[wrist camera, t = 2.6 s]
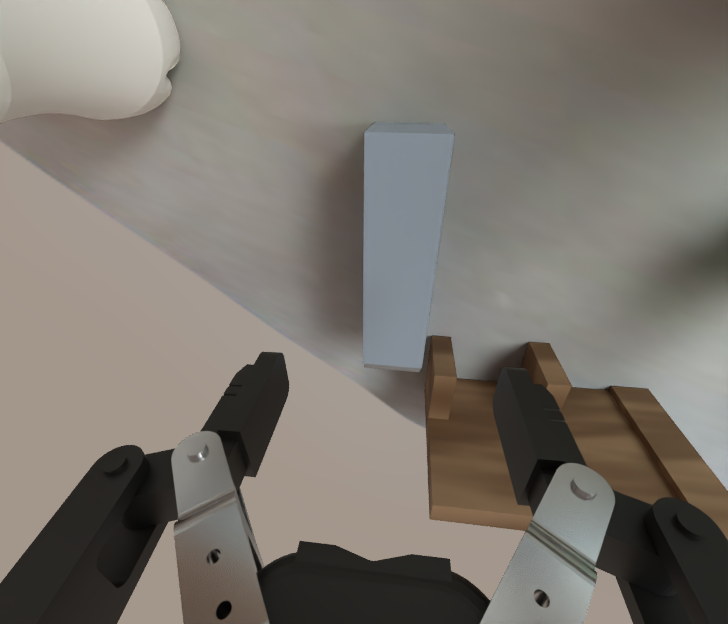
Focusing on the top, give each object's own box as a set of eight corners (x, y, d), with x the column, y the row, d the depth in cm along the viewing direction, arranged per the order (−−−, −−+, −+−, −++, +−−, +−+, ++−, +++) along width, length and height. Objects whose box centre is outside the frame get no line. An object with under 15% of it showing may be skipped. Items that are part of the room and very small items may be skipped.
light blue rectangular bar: (374, 122, 19) (364, 132, 15) (445, 123, 19) (454, 134, 15) (370, 325, 27) (362, 368, 23) (419, 329, 27) (421, 373, 23)
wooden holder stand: (431, 335, 27) (444, 500, 16) (672, 351, 25) (866, 548, 14) (424, 394, 31) (430, 558, 20) (633, 411, 29) (762, 603, 18)
